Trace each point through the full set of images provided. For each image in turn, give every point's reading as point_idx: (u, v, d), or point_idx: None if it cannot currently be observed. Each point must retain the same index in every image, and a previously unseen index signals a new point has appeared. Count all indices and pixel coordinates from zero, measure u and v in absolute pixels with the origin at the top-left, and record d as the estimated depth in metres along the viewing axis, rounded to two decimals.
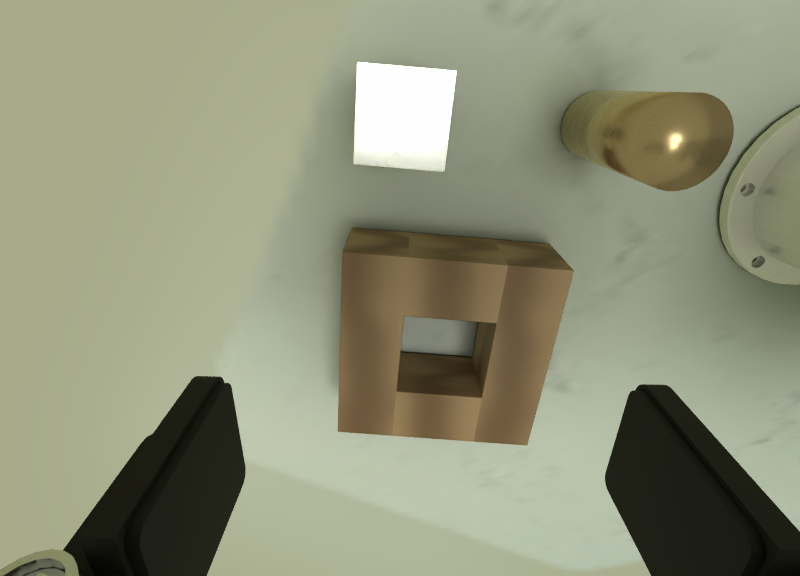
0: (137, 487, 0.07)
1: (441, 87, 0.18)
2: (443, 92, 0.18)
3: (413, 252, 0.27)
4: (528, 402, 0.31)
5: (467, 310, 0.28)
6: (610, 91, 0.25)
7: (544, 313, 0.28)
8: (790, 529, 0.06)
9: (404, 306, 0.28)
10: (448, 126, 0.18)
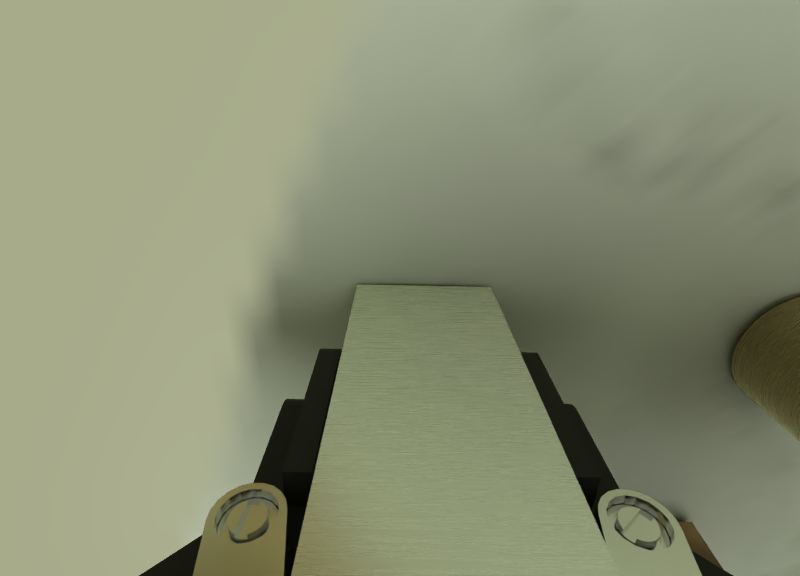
0: (312, 435, 0.08)
1: None
2: None
3: None
4: None
5: None
6: None
7: None
8: (587, 462, 0.07)
9: None
10: None
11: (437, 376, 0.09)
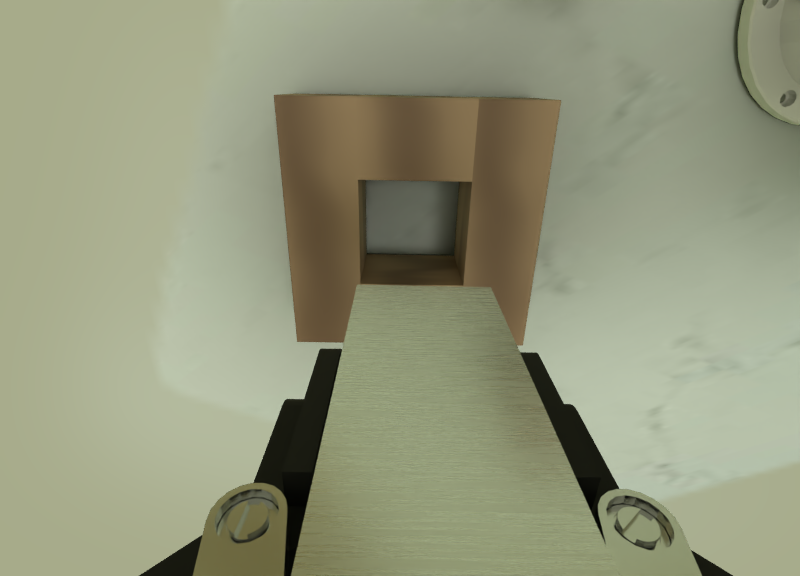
0: (312, 434, 0.08)
1: None
2: None
3: None
4: (520, 288, 0.26)
5: (434, 166, 0.23)
6: None
7: (529, 163, 0.23)
8: (587, 462, 0.07)
9: (357, 166, 0.23)
10: None
11: (437, 376, 0.09)
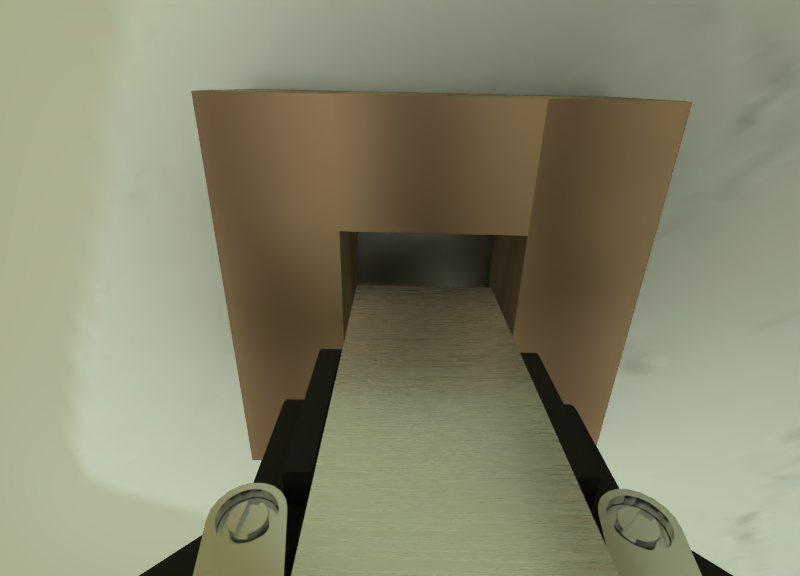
0: (312, 434, 0.08)
1: None
2: None
3: (348, 93, 0.13)
4: (592, 392, 0.16)
5: (466, 211, 0.14)
6: None
7: (625, 207, 0.13)
8: (587, 462, 0.07)
9: (338, 210, 0.14)
10: None
11: (437, 377, 0.09)
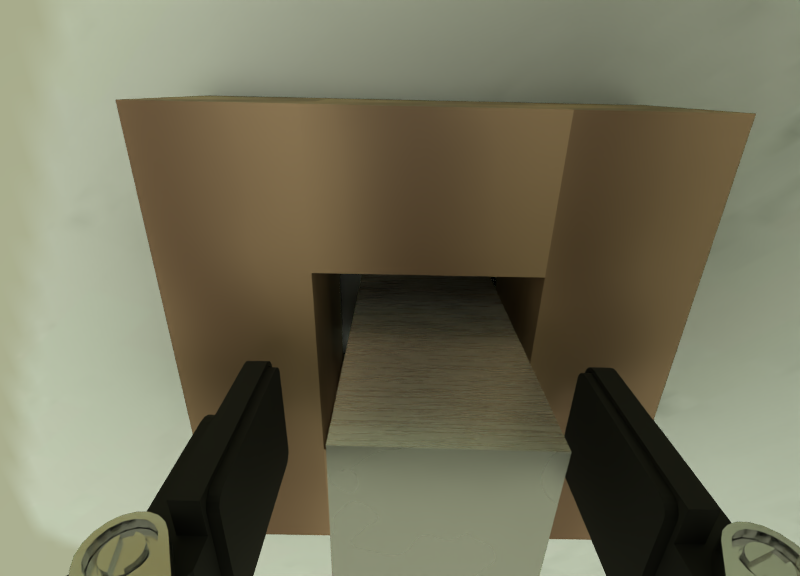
0: (211, 457, 0.07)
1: (533, 480, 0.07)
2: (537, 487, 0.07)
3: (319, 102, 0.10)
4: None
5: (469, 248, 0.11)
6: None
7: (666, 243, 0.11)
8: (701, 492, 0.07)
9: (309, 247, 0.11)
10: (545, 538, 0.08)
11: (431, 300, 0.12)
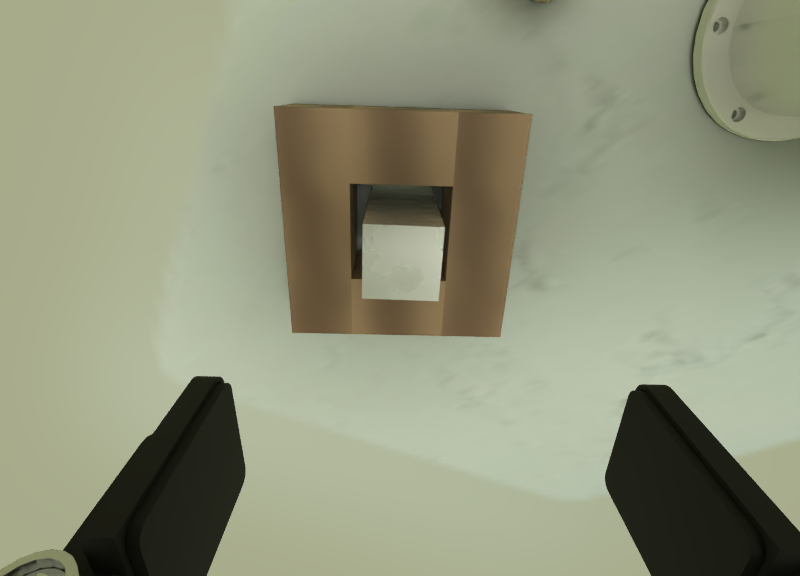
0: (137, 487, 0.07)
1: (433, 239, 0.21)
2: (435, 242, 0.22)
3: (355, 108, 0.24)
4: (497, 284, 0.28)
5: (419, 172, 0.25)
6: None
7: (504, 170, 0.25)
8: (790, 529, 0.06)
9: (349, 171, 0.25)
10: (440, 267, 0.22)
11: (403, 199, 0.26)
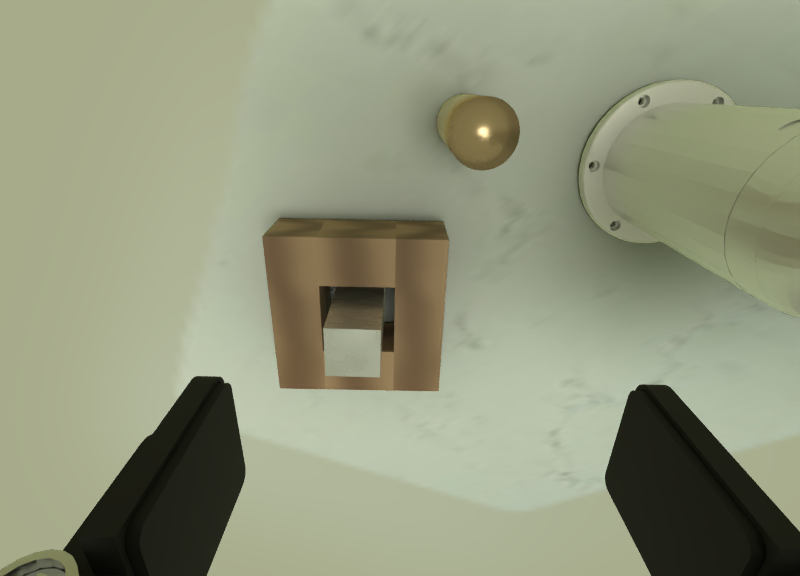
0: (137, 487, 0.07)
1: (373, 338, 0.31)
2: (374, 340, 0.31)
3: (321, 233, 0.34)
4: (433, 353, 0.37)
5: (369, 278, 0.34)
6: (462, 95, 0.31)
7: (432, 276, 0.34)
8: (790, 529, 0.06)
9: (318, 277, 0.34)
10: (379, 355, 0.31)
11: (359, 295, 0.35)
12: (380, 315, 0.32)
